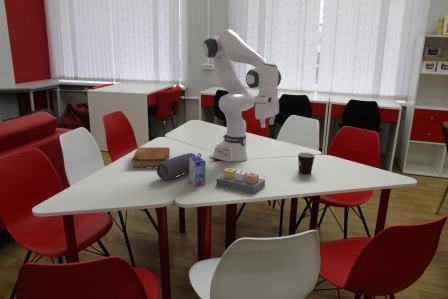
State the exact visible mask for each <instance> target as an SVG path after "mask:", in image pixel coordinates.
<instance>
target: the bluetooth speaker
mask: <svg viewBox="0 0 448 299" xmlns="http://www.w3.org/2000/svg"><path fill="white" fill-rule="evenodd" d="M193 156H197V155H196V154H195V153H193V152H191V153H190V152H189V153H184V154H181V155H177V156H174V157H172V158H169V160H166V161H164V162H161V163H160V164H158V166H157V168H155V169H156V170H155V171H156V174H157V176H158V177H159V178H160V179H161V180H167V179H173V178H172V177H176V176H178V175H181V174H183V173H187V172H189V157H193Z"/></svg>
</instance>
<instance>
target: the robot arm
mask: <svg viewBox="0 0 448 299" xmlns="http://www.w3.org/2000/svg"><path fill="white" fill-rule="evenodd" d="M202 50H203V53H204V55H205V56H206V57H207V58H208V59H209V58H210V59H211V58H213V59H212V60H213V66H214V69H215V72H216V76H217V78H218V81H219V85H220V87H221V88H222V89H224V90H225V91H226V92H228V93H226V94H224V95H222V96H221V97H220V98H219V100H218V107H219V110H220V111H221V112H222V113H223V114H224V116H225V119H226V134H224V135H223V136H222V139H223V140H222V141H221V142H219V143H218V144H217V145H216V146H215V147H214V150H213V152H211V154H213V155H211V154H210V155H211V156H213V157H215V158H214V159H216V160H220V161H224V162H226V163H230V162H231V163H232V162H243V161H244V162H245V161H247V160H248V155H247V148H246V146H247V145H246V144H247V134H246V133H247V132H246V131H247V122H246V120H245V119H243V116H242V112H244V111H247V110H249V109H251V108H253V107H254V116H255V119H256V120H259V123H260V127H261V129H264V128H266V126H267V124H266V119H267V118H268V119H269V120H268V125H274V122H275V119H276V118H275V117H276V115H278V114H279V113H280V102H279V97H278V96H279V95H278V94H279V93H278V92H279V91H278V90H279V89H278V86H280V84H281V82H282V81H281V80H282V75H281V72H280V71H279V68H278V65H277V64H276V63H275V62H272V61H267V60H266V59H265V58H264V57H263V56H262V55H261V54H259V53H258V52H257V51H256V50H254V49H253V48H251V47H250V46H249V45H248V44H246V43H245V41H244V40H243V39H242V38H241V37H240V35H239V34H238V33H237V32H235V31H233V30H232V29H224V30H223V31H221V32H220V33H219V35H216V36H213V37H209V38H207V39H205V40H204V41H203V44H202ZM234 62H235V63H239V64H240V63H241V64H247V65H251V66H252V67H254V68H252V69H249V70H248V71H247V72H246V75H245V83H246V86H248V88H250V89H253V90H255V89H256V90H257V89H259V90H258V94H257V96H254V94H253V93H252V92H250V91H249V90H247V88H246V87H245V86H244V84H243V83H242V81H241V80H240V78H239V75H238V73H237V70H236V67H235V65H234ZM213 157H212V158H213Z"/></svg>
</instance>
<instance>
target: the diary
mask: <svg viewBox="0 0 448 299" xmlns="http://www.w3.org/2000/svg"><path fill="white" fill-rule="evenodd" d="M169 154H170V147H168V146H167V147H166V146H165V147H160V146H159V147H137V148H136V150H135V153H134V154H133V157H132V158H131V160H132V162H133V166H132V169H148V168H147V167H157V166H158V164H160V163H161V162H164V161H166V160H169V159H170V155H169Z"/></svg>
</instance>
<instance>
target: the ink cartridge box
mask: <svg viewBox="0 0 448 299" xmlns="http://www.w3.org/2000/svg"><path fill="white" fill-rule="evenodd" d="M188 180H189V181H190V182H191V183H192V185H194V186H195V187H198V186H205V185H206V160H205V159H203V158H202V154H201V153H197V155H196V156H193V157H189V171H188Z"/></svg>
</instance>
